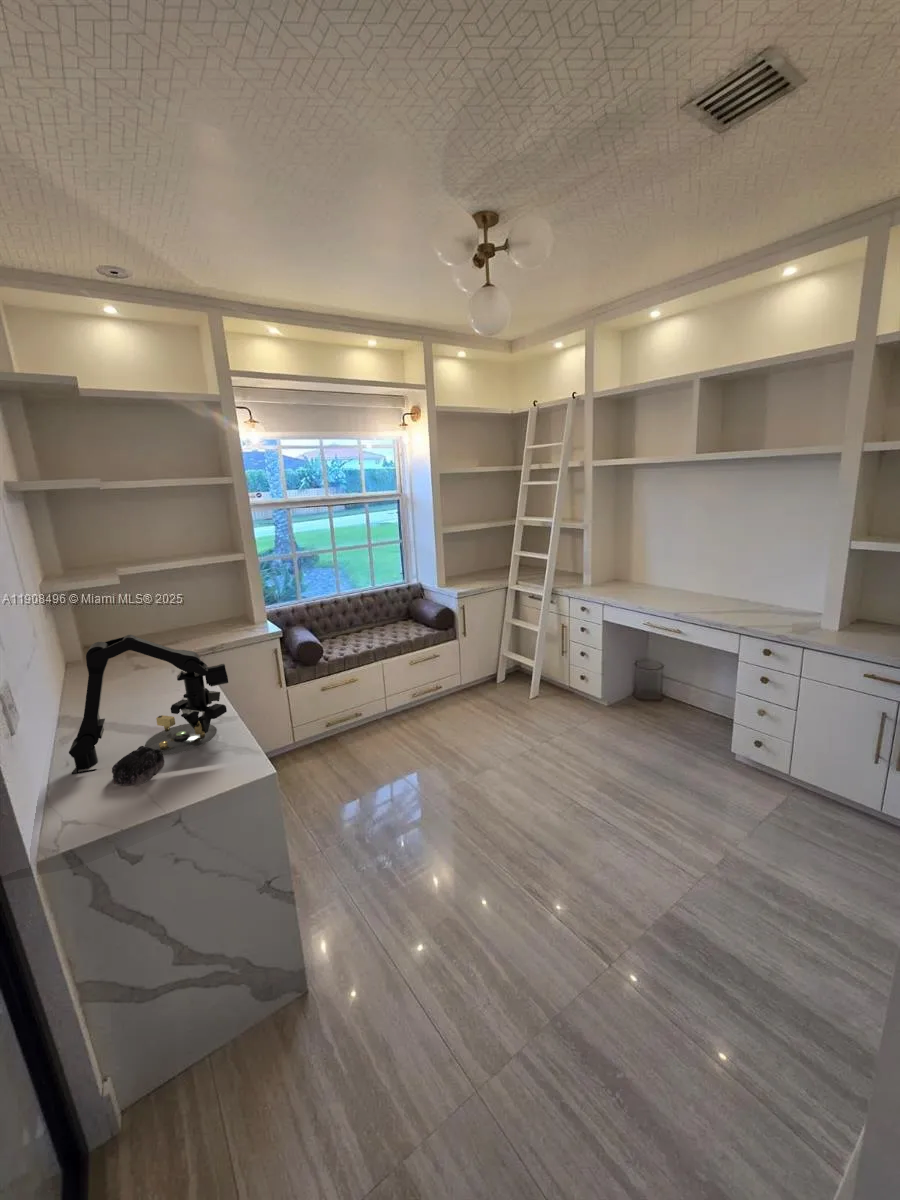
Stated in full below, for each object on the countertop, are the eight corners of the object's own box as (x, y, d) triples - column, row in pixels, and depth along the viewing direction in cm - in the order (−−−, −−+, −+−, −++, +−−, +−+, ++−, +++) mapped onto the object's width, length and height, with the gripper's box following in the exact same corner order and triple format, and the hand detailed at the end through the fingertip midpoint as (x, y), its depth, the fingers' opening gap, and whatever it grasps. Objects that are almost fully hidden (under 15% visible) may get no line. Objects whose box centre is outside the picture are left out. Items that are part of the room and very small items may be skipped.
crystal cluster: (108, 777, 152) (100, 750, 149) (157, 756, 162) (149, 730, 158) (121, 798, 144) (112, 769, 140) (172, 774, 153) (164, 747, 149)
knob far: (176, 729, 177) (174, 716, 176) (171, 732, 175) (169, 719, 173) (163, 728, 178) (161, 714, 177) (158, 731, 176) (156, 717, 175)
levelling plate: (211, 751, 164) (210, 742, 163) (135, 763, 159) (134, 753, 158) (221, 721, 185) (220, 713, 184) (155, 731, 179) (154, 723, 179)
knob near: (203, 740, 169) (201, 726, 168) (196, 740, 168) (194, 726, 167) (208, 732, 174) (206, 718, 173) (202, 732, 174) (199, 719, 173)
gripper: (235, 682, 172) (241, 724, 176) (192, 677, 178) (198, 718, 181) (210, 695, 162) (217, 739, 165) (165, 690, 167) (173, 732, 171)
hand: (202, 731), depth 171 cm, fingers closed on knob near, 3 cm apart
